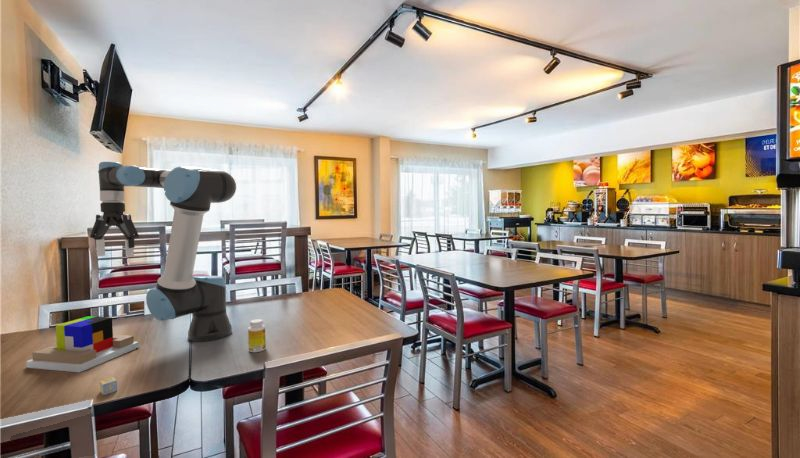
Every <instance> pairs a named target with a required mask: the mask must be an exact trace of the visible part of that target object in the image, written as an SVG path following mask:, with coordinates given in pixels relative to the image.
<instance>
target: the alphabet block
mask: <svg viewBox="0 0 800 458" xmlns="http://www.w3.org/2000/svg"><path fill="white" fill-rule="evenodd" d="M117 382H118V381H117V379H116V378H115V377H109V378H107V379H104V380H100V381H99V384H100V385H99V387H100V392H101V394H102V395H103V396H105V395H109V394H111V393H115V392H117V391H118V384H117Z"/></svg>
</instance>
